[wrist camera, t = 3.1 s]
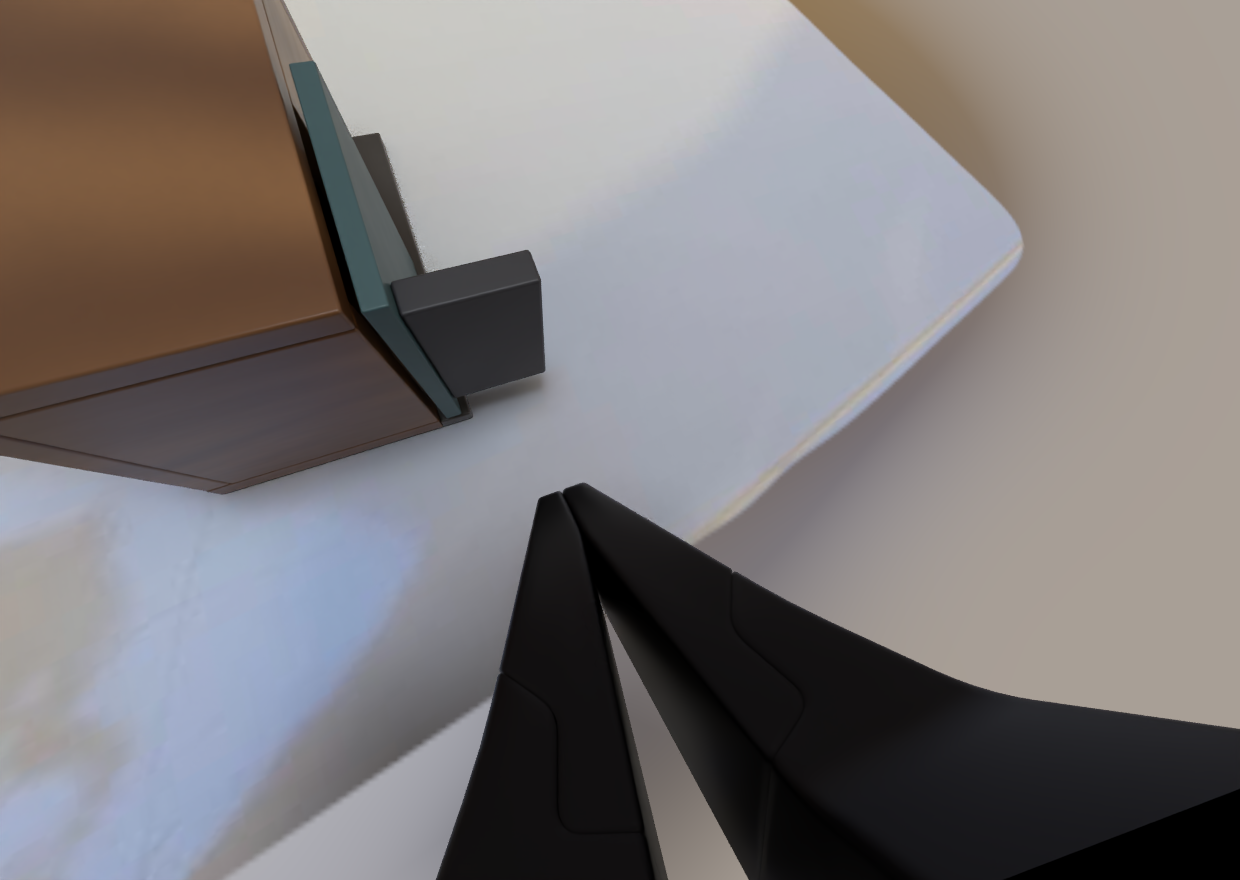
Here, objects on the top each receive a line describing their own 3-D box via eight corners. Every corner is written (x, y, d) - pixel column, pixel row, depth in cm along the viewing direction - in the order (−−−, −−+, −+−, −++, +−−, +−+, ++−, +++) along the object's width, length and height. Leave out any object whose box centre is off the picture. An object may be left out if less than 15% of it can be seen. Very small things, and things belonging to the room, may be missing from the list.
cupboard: (473, 417, 18) (400, 297, 10) (222, 495, 16) (-155, 431, 8) (383, 143, 21) (261, -149, 12) (156, 181, 19) (-186, -136, 10)
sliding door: (548, 387, 18) (543, 268, 10) (446, 419, 17) (360, 312, 10) (495, 243, 19) (456, 41, 12) (398, 265, 18) (287, 62, 11)
